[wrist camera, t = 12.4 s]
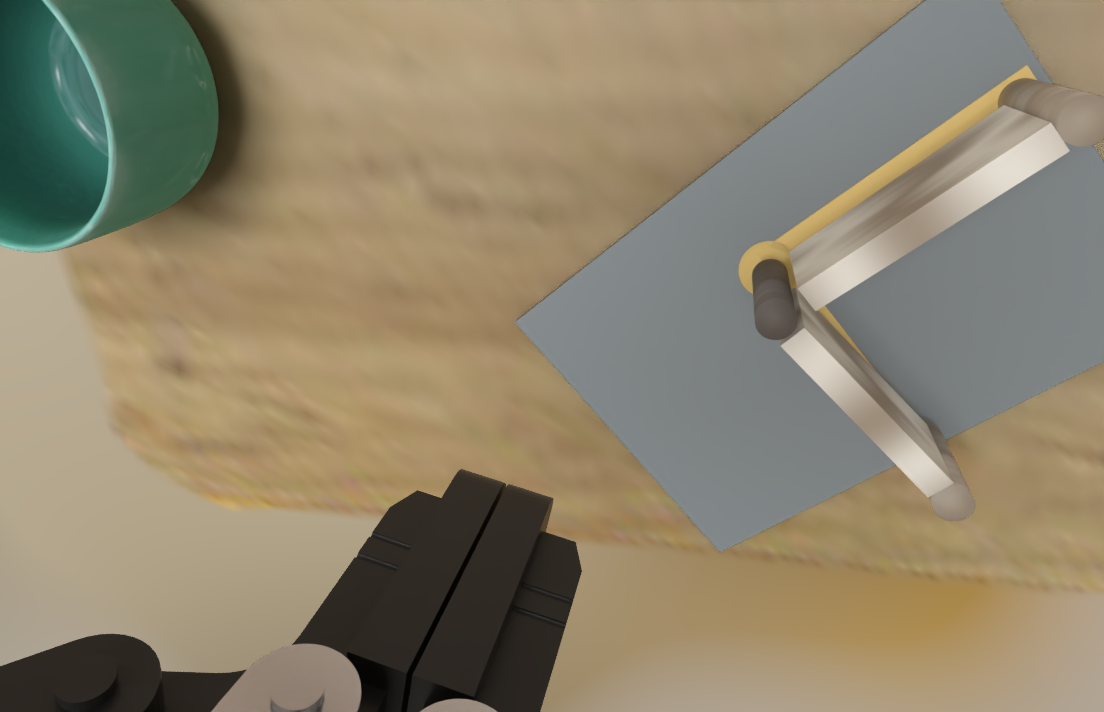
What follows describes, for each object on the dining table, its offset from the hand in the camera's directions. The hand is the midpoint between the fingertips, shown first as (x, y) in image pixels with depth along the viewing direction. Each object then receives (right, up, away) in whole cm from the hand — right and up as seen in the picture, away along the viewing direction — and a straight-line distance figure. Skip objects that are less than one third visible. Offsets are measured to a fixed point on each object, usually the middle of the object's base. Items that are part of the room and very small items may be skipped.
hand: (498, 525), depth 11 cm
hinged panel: (+15, +3, +23) cm, 28 cm away
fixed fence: (+16, +11, +20) cm, 28 cm away
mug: (-21, +19, +26) cm, 38 cm away
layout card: (+14, +5, +24) cm, 28 cm away
